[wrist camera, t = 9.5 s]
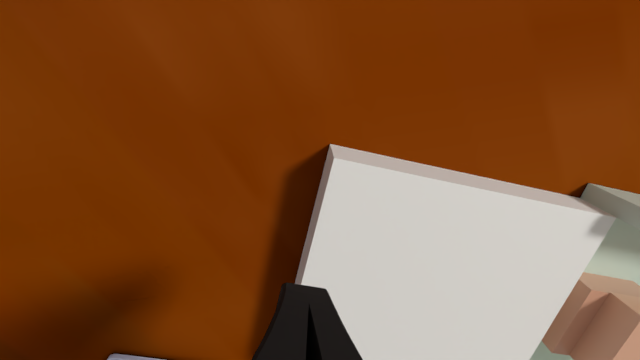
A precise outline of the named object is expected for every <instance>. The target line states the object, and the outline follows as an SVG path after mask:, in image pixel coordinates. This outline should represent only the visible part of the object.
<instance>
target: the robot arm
mask: <svg viewBox="0 0 640 360" xmlns="http://www.w3.org/2000/svg"><path fill="white" fill-rule="evenodd" d="M107 360H165V359H157V358H148V357H140V356H132V355H124V354H111V355H110V356H109V357H108V359H107ZM252 360H363V359H362V357H361V356H360V354H359V352H358V350H357V349H356V347H355V345H354V343H353V341H352V340H351V338H350V336H349V334H348V332H347V330H346V328H345V327H344V325H343V323H342V321H341V319H340V317H339V315H338V312H337V310H336V308H335V306H334V304H333V302H332V300H331V297H330V295H329V293H328V291H327V290H326V289H325V288H319V287H312V286H306V285H300V284H293V283H287V282H286V283H284V284H283V285H282V287H281V291H280V295H279V299H278V303H277V308H276V311H275V314H274V316H273V318H272V321H271V323H270V325H269V327H268V329H267V332H266V334H265V336H264V338H263V340H262V341H261V343H260V345H259V347H258V349H257V351H256V352H255V354H254V356H253V358H252Z"/></svg>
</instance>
